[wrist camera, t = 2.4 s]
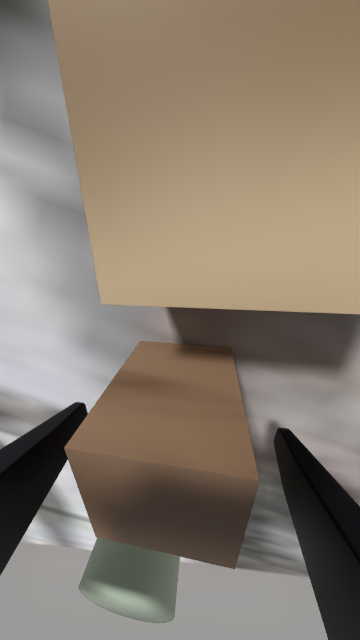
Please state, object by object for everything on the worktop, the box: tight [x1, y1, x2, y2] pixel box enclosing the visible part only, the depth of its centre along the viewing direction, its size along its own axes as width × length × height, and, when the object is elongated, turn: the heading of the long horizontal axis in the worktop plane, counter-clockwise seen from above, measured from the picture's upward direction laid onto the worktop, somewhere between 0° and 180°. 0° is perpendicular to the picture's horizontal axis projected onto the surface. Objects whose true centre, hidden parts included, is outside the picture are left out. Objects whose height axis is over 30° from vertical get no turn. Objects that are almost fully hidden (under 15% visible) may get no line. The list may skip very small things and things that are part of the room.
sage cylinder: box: [79, 537, 180, 623], centre depth 12 cm, size 5×5×6 cm
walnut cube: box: [64, 341, 259, 569], centre depth 8 cm, size 5×5×6 cm
